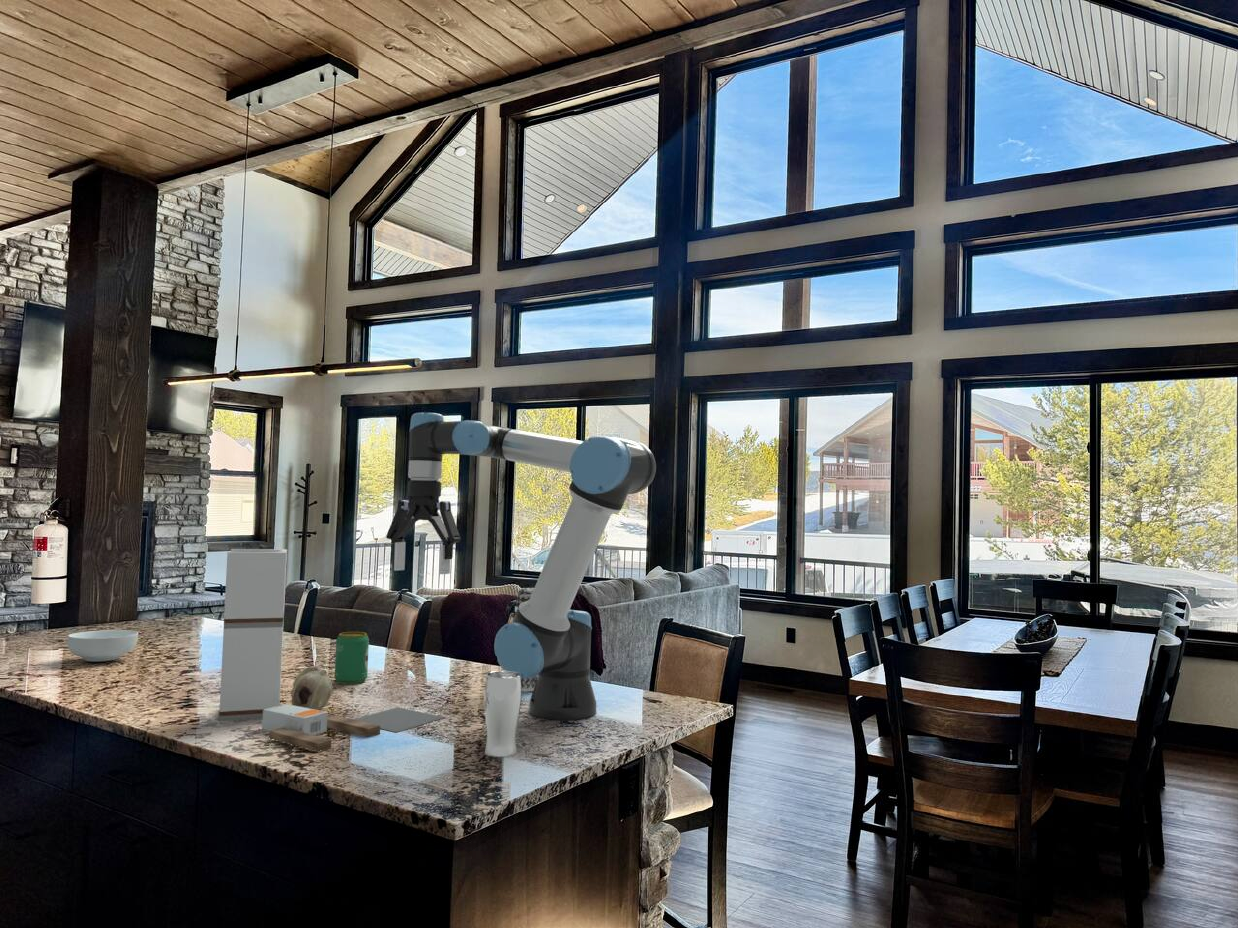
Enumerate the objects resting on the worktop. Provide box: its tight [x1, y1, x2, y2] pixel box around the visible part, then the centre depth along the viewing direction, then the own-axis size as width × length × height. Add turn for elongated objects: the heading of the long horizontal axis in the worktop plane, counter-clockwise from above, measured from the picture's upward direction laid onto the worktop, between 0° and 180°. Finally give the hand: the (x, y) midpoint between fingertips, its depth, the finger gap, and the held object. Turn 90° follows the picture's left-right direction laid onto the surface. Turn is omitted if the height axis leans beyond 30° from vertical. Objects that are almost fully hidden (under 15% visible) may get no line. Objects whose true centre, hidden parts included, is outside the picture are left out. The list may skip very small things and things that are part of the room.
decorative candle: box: [511, 587, 538, 692], centre depth 209 cm, size 9×9×25 cm
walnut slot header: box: [268, 714, 381, 752], centre depth 161 cm, size 14×15×2 cm
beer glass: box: [483, 670, 522, 758], centre depth 154 cm, size 7×7×15 cm
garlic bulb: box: [290, 665, 333, 711], centre depth 179 cm, size 10×8×10 cm
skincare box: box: [261, 703, 328, 736], centre depth 165 cm, size 6×4×12 cm
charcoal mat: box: [353, 706, 446, 734], centre depth 174 cm, size 14×14×1 cm
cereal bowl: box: [66, 629, 139, 662], centre depth 229 cm, size 17×17×7 cm
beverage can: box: [334, 631, 370, 685], centre depth 211 cm, size 8×8×12 cm
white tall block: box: [218, 548, 288, 722], centre depth 178 cm, size 11×11×35 cm
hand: (421, 572), depth 189 cm, fingers open, 13 cm apart
